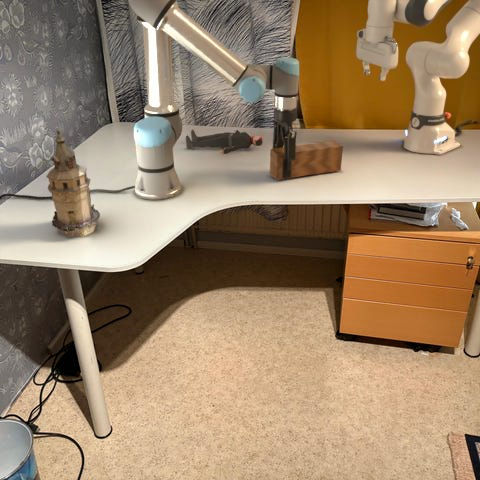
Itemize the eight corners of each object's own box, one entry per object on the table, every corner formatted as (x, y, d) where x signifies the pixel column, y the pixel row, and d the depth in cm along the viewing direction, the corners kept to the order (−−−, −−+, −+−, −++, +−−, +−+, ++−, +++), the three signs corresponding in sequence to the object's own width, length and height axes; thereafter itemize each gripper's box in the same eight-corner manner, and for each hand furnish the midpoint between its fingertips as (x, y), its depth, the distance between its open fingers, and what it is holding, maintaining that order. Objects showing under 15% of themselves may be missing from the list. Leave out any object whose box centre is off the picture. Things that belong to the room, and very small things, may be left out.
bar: (276, 179, 183) (277, 154, 178) (269, 173, 188) (270, 148, 183) (340, 170, 190) (343, 145, 186) (332, 164, 195) (335, 140, 191)
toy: (197, 123, 225) (267, 123, 219) (198, 137, 228) (268, 138, 222) (178, 143, 203) (256, 144, 197) (180, 159, 206) (257, 160, 200)
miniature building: (80, 214, 164) (63, 117, 149) (111, 225, 157) (96, 125, 142) (44, 231, 154) (22, 130, 140) (75, 244, 147) (55, 139, 133)
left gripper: (309, 114, 168) (304, 182, 180) (284, 99, 184) (281, 163, 195) (287, 117, 166) (284, 185, 177) (263, 101, 181) (262, 165, 193)
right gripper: (405, 38, 170) (399, 83, 176) (370, 29, 186) (366, 70, 193) (388, 40, 168) (383, 84, 174) (354, 31, 184) (351, 72, 191)
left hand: (282, 173), depth 186 cm, fingers closed on bar, 6 cm apart
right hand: (374, 77), depth 184 cm, fingers open, 8 cm apart
